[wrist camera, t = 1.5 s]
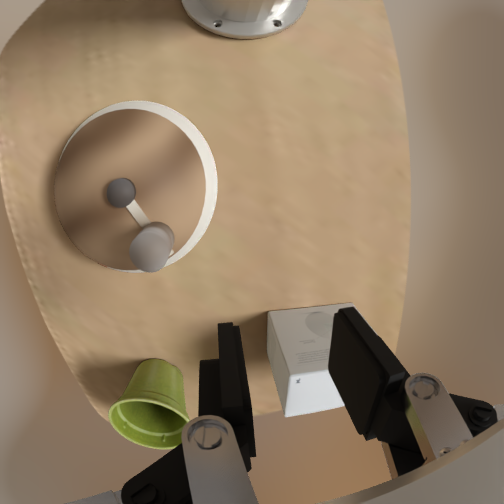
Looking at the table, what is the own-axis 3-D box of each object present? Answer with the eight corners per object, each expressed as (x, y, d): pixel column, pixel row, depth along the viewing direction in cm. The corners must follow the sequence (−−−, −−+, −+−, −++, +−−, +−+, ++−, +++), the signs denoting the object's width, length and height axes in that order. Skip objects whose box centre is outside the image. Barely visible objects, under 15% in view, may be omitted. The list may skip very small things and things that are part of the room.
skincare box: (266, 354, 34) (283, 420, 25) (267, 310, 32) (288, 374, 22) (345, 344, 36) (380, 400, 26) (353, 301, 33) (396, 353, 24)
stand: (100, 83, 22) (91, 79, 20) (246, 144, 26) (249, 143, 24) (48, 228, 26) (38, 234, 24) (177, 288, 30) (175, 298, 28)
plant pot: (138, 401, 35) (129, 449, 27) (113, 350, 32) (93, 400, 24) (202, 396, 36) (203, 447, 28) (184, 343, 32) (178, 397, 24)
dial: (39, 178, 22) (8, 187, 17) (148, 80, 21) (133, 64, 16) (120, 290, 27) (104, 317, 22) (237, 207, 26) (243, 221, 21)
